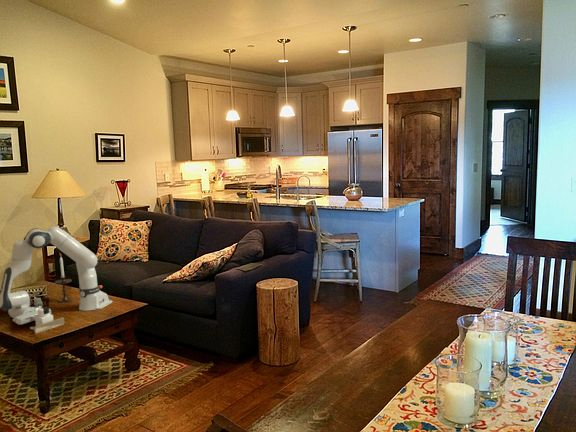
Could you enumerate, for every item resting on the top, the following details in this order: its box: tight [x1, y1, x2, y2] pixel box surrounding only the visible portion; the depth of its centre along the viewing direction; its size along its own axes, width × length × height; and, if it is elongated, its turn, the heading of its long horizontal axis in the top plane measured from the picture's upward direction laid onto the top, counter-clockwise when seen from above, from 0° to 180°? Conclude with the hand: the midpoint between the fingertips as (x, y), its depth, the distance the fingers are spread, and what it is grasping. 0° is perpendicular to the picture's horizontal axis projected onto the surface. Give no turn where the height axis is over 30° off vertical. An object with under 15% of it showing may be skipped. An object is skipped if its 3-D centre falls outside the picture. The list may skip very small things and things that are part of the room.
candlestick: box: [54, 251, 73, 304], centre depth 338 cm, size 11×11×35 cm
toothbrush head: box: [33, 296, 44, 307], centre depth 335 cm, size 5×7×25 cm
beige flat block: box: [29, 317, 65, 335], centre depth 287 cm, size 11×18×4 cm, turn 148°
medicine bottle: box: [34, 306, 54, 326], centre depth 287 cm, size 7×7×12 cm
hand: (40, 318), depth 289 cm, fingers closed, pressing on medicine bottle
